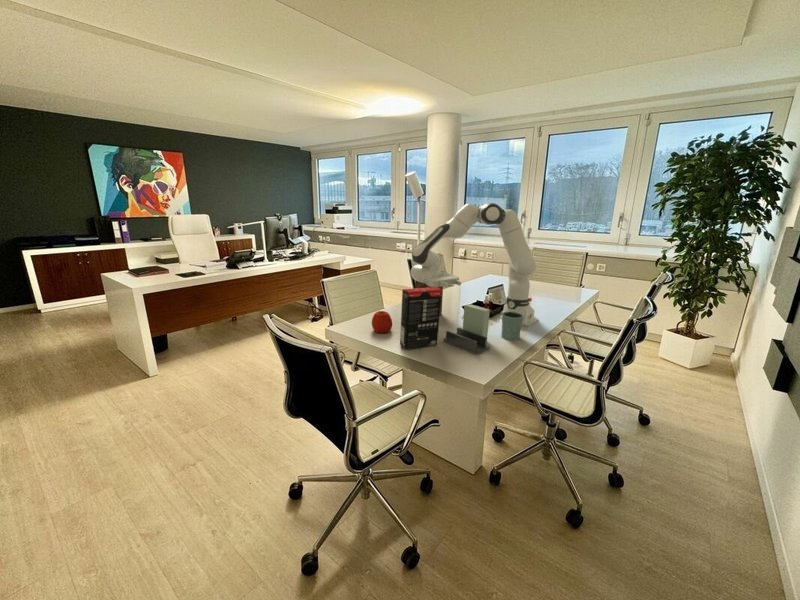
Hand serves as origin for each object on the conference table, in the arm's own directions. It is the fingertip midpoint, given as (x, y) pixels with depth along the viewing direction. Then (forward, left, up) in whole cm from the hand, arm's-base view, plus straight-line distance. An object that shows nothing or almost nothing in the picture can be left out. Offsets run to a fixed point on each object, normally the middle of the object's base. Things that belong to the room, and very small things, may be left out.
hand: (454, 284), depth 173 cm
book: (-11, -28, -25) cm, 39 cm away
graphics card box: (+28, +5, -25) cm, 37 cm away
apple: (+30, -21, -25) cm, 44 cm away
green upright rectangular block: (0, +15, -25) cm, 29 cm away
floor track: (+10, +18, -24) cm, 32 cm away
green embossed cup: (-16, +25, -25) cm, 38 cm away
